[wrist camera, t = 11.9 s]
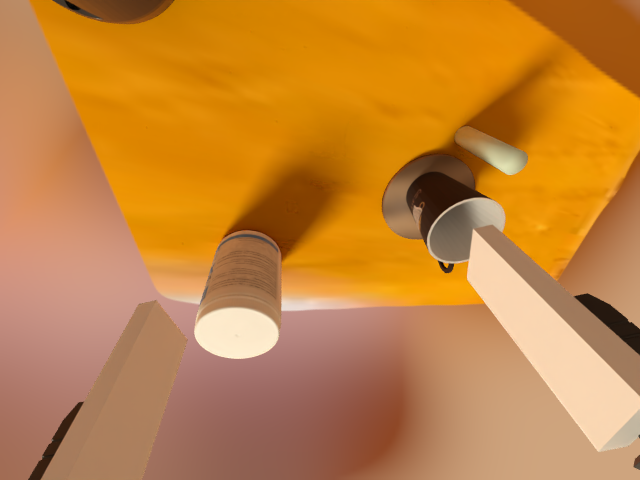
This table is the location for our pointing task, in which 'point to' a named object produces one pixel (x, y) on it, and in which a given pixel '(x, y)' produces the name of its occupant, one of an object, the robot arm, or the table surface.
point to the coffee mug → (450, 216)
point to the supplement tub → (241, 297)
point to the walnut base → (397, 188)
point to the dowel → (491, 150)
